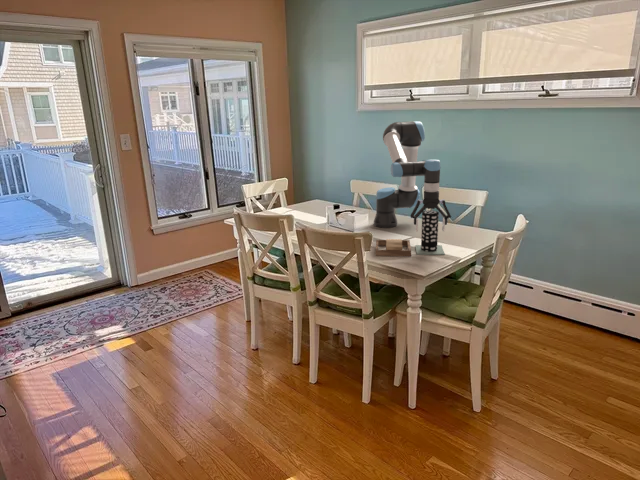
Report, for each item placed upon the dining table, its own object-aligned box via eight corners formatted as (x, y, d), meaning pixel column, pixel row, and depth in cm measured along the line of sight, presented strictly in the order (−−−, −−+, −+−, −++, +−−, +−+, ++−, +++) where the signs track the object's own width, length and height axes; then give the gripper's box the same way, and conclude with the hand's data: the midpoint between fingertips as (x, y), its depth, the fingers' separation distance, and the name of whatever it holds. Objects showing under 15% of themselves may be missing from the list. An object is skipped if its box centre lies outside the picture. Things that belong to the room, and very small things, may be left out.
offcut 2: (385, 248, 234) (386, 243, 233) (401, 248, 234) (401, 243, 233) (386, 251, 229) (386, 246, 229) (402, 251, 229) (402, 246, 228)
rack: (376, 245, 247) (376, 239, 246) (409, 245, 244) (409, 240, 243) (375, 255, 230) (375, 250, 229) (411, 256, 227) (411, 250, 226)
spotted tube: (439, 247, 236) (440, 211, 230) (434, 252, 229) (436, 214, 223) (423, 245, 240) (425, 209, 234) (418, 250, 233) (420, 213, 227)
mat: (415, 246, 242) (415, 245, 242) (441, 246, 240) (441, 245, 240) (416, 254, 229) (416, 253, 229) (444, 254, 227) (444, 253, 227)
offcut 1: (386, 243, 234) (386, 239, 233) (401, 243, 232) (401, 239, 232) (386, 246, 229) (386, 242, 228) (402, 246, 228) (402, 242, 227)
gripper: (406, 192, 223) (405, 232, 230) (458, 191, 220) (455, 232, 226) (406, 189, 230) (405, 228, 237) (455, 188, 227) (453, 228, 233)
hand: (429, 230), depth 231 cm, fingers open, 13 cm apart
